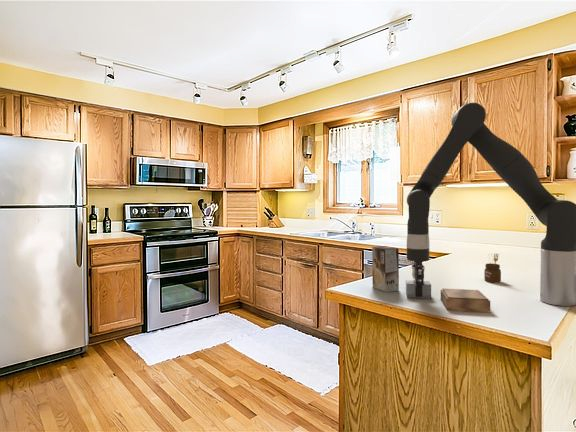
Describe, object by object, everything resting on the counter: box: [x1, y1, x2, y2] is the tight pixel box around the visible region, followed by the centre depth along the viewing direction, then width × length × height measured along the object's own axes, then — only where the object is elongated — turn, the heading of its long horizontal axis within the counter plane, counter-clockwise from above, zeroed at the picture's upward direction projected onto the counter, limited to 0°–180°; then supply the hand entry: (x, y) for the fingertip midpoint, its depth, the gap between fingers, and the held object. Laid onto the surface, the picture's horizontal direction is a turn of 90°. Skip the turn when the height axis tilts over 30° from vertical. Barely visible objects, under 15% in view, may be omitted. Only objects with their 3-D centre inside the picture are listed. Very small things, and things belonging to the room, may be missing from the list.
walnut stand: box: [440, 288, 491, 314], centre depth 113 cm, size 12×12×4 cm
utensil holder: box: [483, 253, 502, 284], centre depth 146 cm, size 6×6×12 cm
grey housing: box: [405, 279, 432, 300], centre depth 125 cm, size 8×5×6 cm, turn 75°
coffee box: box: [371, 245, 400, 293], centre depth 136 cm, size 9×6×16 cm
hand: (418, 294), depth 125 cm, fingers closed on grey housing, 5 cm apart
